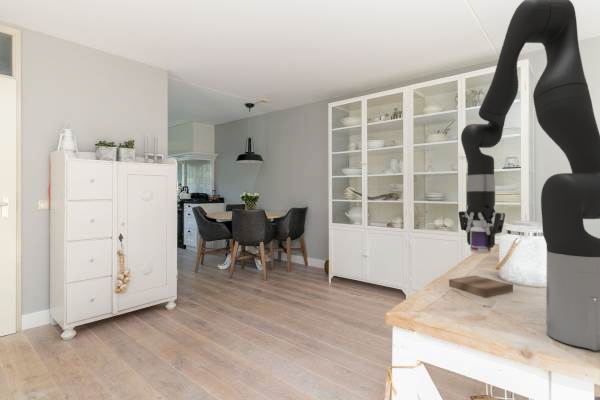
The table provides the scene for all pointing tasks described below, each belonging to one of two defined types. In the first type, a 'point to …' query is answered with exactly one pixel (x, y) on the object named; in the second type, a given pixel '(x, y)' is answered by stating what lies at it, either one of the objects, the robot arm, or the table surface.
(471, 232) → the pill bottle
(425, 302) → the table surface
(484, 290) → the walnut block
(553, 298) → the robot arm
